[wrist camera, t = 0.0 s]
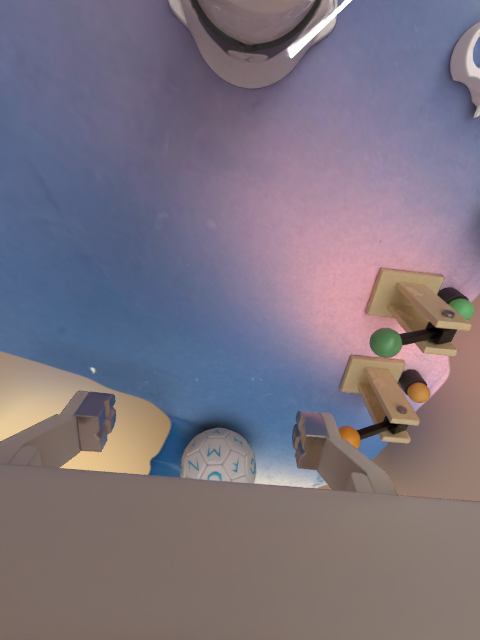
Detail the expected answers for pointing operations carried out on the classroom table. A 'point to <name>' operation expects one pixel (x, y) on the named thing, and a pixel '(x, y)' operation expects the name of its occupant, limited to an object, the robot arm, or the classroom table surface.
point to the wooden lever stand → (415, 305)
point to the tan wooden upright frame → (380, 392)
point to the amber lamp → (414, 386)
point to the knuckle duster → (467, 64)
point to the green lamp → (457, 302)
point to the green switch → (407, 339)
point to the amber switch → (369, 431)
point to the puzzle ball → (218, 457)
